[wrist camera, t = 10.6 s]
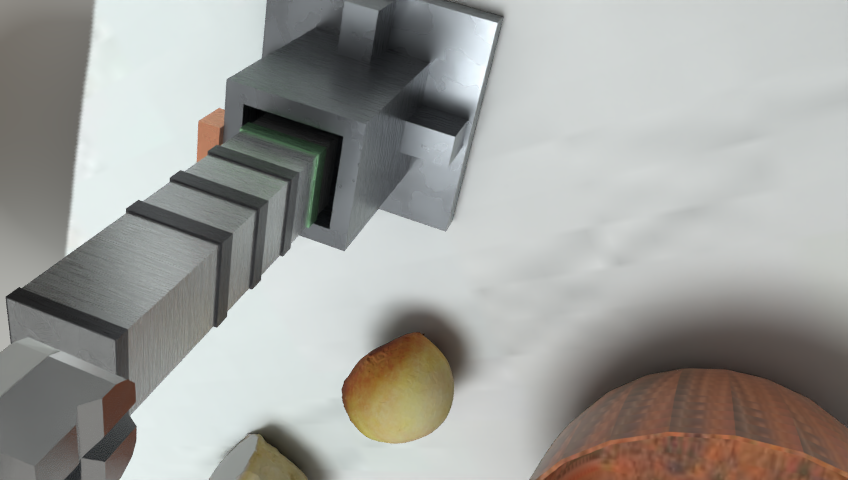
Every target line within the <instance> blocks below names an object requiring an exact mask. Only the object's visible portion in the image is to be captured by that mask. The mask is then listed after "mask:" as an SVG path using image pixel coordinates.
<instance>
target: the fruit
mask: <svg viewBox="0 0 848 480" xmlns="http://www.w3.org/2000/svg"><path fill="white" fill-rule="evenodd" d="M423 335H424V334H423ZM423 335H422V334H421V333H420V332H416V333H409V334H405V335H403V336H401V337H399V338H397V339H395V340H393V341H391V342H389V343H387V344H385V345H383V346H380V347H378V348H376V349H374V350H373V351H371V352H370V353H368V354H367V355H366V356H364V357H363V358H362V359H361V360H360V361H359V362H358V363H357V364H356V365H355V367H354V368H353V370H352V371H351V373H350V375H349V376H348V378H346V379H345V381H344V384H343V387H342V399H343V404H344V407H345V410H346V412H347V413H348V416H349V418H350V421H351V422H352V423H353V424H354V425H355V427H356V428H357V429H358V430H359V431H360V432H361V433H362V434H364V435H365V436H366V437H368V438H370V439H372V440H376V441H379V442H386V443H406V442H409V441H413V440H416V439H419V438H422V437H424V436H426V435H428V434H430V433H432V432H433V431H434V430H436V429H437V428H438V427H439V426H440V425H441V424H442V423H443V422H444V420H445V419H446V417H447V415H448V413H449V411H450V408H451V405H452V401H453V395H454V380H453V375H452V372H451V369H450V366H449V363H448V361H447V359H446V358H445V356H444V355H443V354H442V352H441V351H440V350H439V349H438V348H437V347H436V346H435V345H434V344H433V343H432V342H431V341H430V340H428V339H427V338H426V337H424V336H423Z"/></svg>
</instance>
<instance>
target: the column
mask: <svg viewBox="0 0 848 480" xmlns="http://www.w3.org/2000/svg"><path fill="white" fill-rule="evenodd" d="M338 137H339V136H338V135H335V134H332V133H329V132H325V131H322V130H319V129H316V128H313V127H310V126H307V125H304V124H301V123H298V122H295V121H292V120H289V119H286V118H282V117H279V116H276V115H273V114H270V113H266V114H264V115H263V116H261V117H260V118H259V119H257V120H256V121H255V122H253V123H251V122H248V123H247V124H245V125H244V126H242V127H241V128H240V132H239V133H238V134H236V135H235V136H234V137H232V138H231V139H229V140H228V141H227V142H225V143H224V144H222V145H221V146H219V145H216V146H214V147H213V148H211V149H210V150H208V153H207V156H206V157H204V158H203V159H201V160H200V161H199V162H197V163H196V164H194V165H193V166H192V167H190V168H189V169H187V170H186V171H185V172H184V171H181V170H180V171H179V172H177V173H176V174H175V175H173V176H172V177H170V182H169V183H168V184H166V185H165V186H164V187H162V188H161V189H159V190H158V191H157V192H155V193H154V194H153V195H151V196H150V197H148V198H147V199H146V200H144V201H140V200H138V201H136V202H135V203H134V204H132V205H131V206H129V207H128V208H127V209H126V214H125V215H123V216H122V217H120V218H119V219H118V220H116V221H115V222H113V223H112V224H111V225H109V226H108V227H106V228H105V229H104V230H102V231H101V232H99V233H98V234H97V235H95V236H94V237H92V238H91V239H90V240H88V241H87V242H85V243H84V244H83V245H81V246H80V247H78V248H77V249H76V250H74V251H73V252H71V253H70V254H69V255H67V256H66V257H64V258H63V259H62V260H60V261H59V262H57V263H56V264H55V265H53V266H52V267H51V268H49V269H48V270H46V271H45V272H44V273H42V274H41V275H39V276H38V277H37V278H35V279H34V280H32V281H31V282H30V283H28V284H27V285H25V286H24V287H23V288H20V287H19V288H17V289H16V290H15V291H13V292H12V293H10V294H9V295H8V296H6V305H7V314H8V321H9V330H10V339H11V344H12V343H13V342H15V341H18V340H22V339H25V338H28V337H29V338H31V339H34V340H36V341H38V342H41V343H43V344H46V345H48V346H51V347H53V348H55V349H58V350H60V351H63V352H65V353H67V354H70V355H72V356H74V357H77V358H79V359H81V360H84V361H86V362H88V363H90V364H93V365H95V366H97V367H100V368H102V369H104V370H107V371H109V372H111V373H114V374H116V375H118V376H120V377H123V378H125V379H127V380H130V381H132V382H134V383H135V390H136V403H135V404H134V405H133V406H132V407H131V408H130V409H129V410H128V411H127V412H128V414H129V415H131V414H132V413H133V412H134V411H135V410H136V409H137V408H138V406H139V405H140V404H141V403H142V402H143V401H144V400H145V399H146V398H147V397H148V396H149V395H150V394H151V393H152V392H153V390H154V389H155V388H156V387H157V386H158V385H159V384H160V383H161V382H162V381H163V380H164V379H165V378H166V377H167V375H168V374H169V373H170V372H171V371H172V370H173V369H174V368H175V367H176V366H177V365H178V364H179V363H180V362H181V361H182V359H183V358H184V357H185V356H186V355H187V354H188V353H189V352H190V351H191V350H192V349H193V348H194V347H195V346H196V344H197V343H198V342H199V341H200V340H201V339H202V338H203V337H204V336H205V335H206V334H207V333H208V332H209V331H210V330H211V328H212V327H213V326H214V327H218V326H219V325H220V324H221V323H222V322H223V320H224V319H225V318H226V317H227V311H228V310H229V309H230V308H231V307H232V306H233V305H234V304H235V303H236V302H237V301H238V300H239V299H240V297H241V296H242V295H243V294H244V293H245V292H246V291H247V290H248V289H253V288H254V287H255V286H256V285H257V284H258V283H259V282H260V281H261V275H262V274H263V273H264V272H265V271H266V270H267V269H268V267H269V266H270V265H271V264H272V263H273V262H274V261H275V260H276V259H277V258H278V257H279V256H284V255H285V254H286V252H287V251H288V250H289V249H290V246H291V243H292V242H293V241H294V240H295V239H296V238H297V236H298V235H299V234H300V233H301V232H302V231H303V230H304V229H305V228H306V227H307V228H310V227H311V225H312V224H313V223H314V222H315V221H316V220H317V215H318V214H319V213H320V212H321V211H322V210H323V209H324V208H325V207H326V205H327V204H328V203H329V197H330V191H331V184H332V177H333V171H334V164H335V157H336V151H337V144H338Z"/></svg>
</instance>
